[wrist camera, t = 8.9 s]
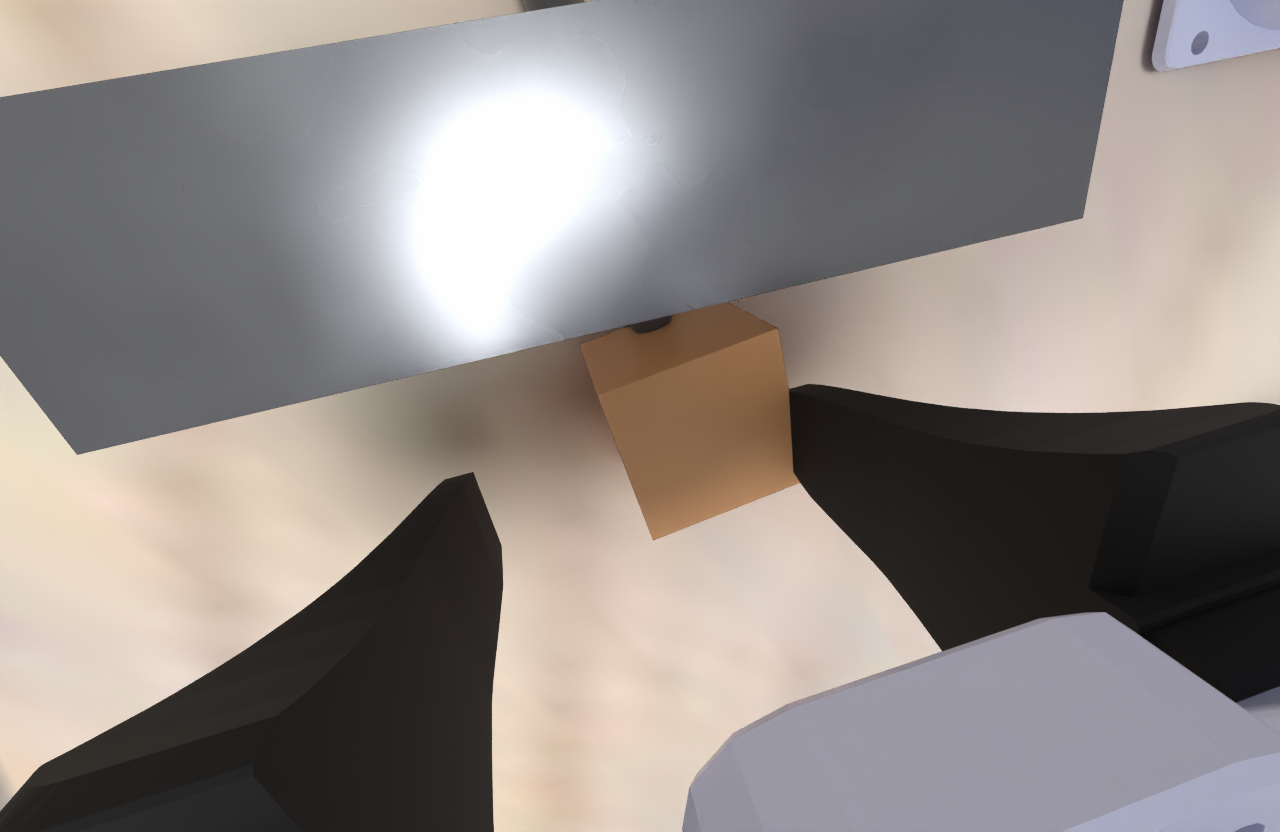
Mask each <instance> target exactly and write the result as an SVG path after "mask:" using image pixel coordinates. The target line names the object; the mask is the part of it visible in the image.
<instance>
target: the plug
mask: <svg viewBox="0 0 1280 832" xmlns="http://www.w3.org/2000/svg"><path fill="white" fill-rule="evenodd" d="M522 2H523V5H524V8H525V11H526V12H528V11H535V10H541V9H547V8H553V7H559V6H565V5H572V4H578V3H584V0H522ZM580 348H581V350H582V353H583V356H584V359H585V362H586V365H587V367H588V370H589V373H590V376H591V379H592V382H593V385H594V387H595V390H596V393H597V396H598V399H599V401H600V404H601V406H602V409H603V412H604V414H605V417H606V419H607V422H608V425H609V427H610V430H611V432H612V435H613V438H614V440H615V443H616V445H617V448H618V451H619V453H620V456H621V458H622V461H623V464H624V466H625V469H626V471H627V474H628V477H629V479H630V482H631V484H632V487H633V490H634V492H635V495H636V497H637V500H638V503H639V505H640V508H641V510H642V513H643V516H644V518H645V521H646V523H647V526H648V529H649V531H650V534H651V536H652V539H653V540H656V539H658V538H661V537H663V536H666V535H668V534H671V533H673V532H676V531H679V530H681V529H684V528H686V527H689V526H691V525H694V524H696V523H699V522H701V521H704V520H706V519H709V518H711V517H714V516H717V515H719V514H722V513H724V512H727V511H729V510H732V509H734V508H737V507H739V506H742V505H744V504H747V503H750V502H752V501H755V500H757V499H760V498H762V497H765V496H767V495H770V494H772V493H775V492H777V491H780V490H782V489H785V488H788V487H790V486H793V485H795V484H798V483H800V481H799V480H798V478H797V477H796V476H795V474H794V473H793V457H792V439H791V421H790V403H789V387H788V382H787V376H786V371H785V366H784V360H783V355H782V350H781V344H780V339H779V333H778V328H776V327H774V326H772V325H770V324H768V323H766V322H764V321H762V320H760V319H758V318H757V317H755V316H753V315H751V314H749V313H747V312H745V311H743V310H741V309H739V308H737V307H735V306H734V305H732V304H730V303H728V302H724V303H720V304H716V305H711V306H707V307H703V308H699V309H694V310H690V311H686V312H682V313H677V314H673V315H669V316H665V317H660V318H656V319H652V320H648V321H643V322H639V323H635V324H631V325H629V327H627V328H624V329H621V330H619V331H616V332H613V333H610V334H608V335H605V336H602V337H599V338H597V339H594V340H591V341H589V342H586V343H583V344H580Z"/></svg>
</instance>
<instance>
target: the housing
mask: <svg viewBox="0 0 1280 832" xmlns="http://www.w3.org/2000/svg"><path fill="white" fill-rule="evenodd" d="M1122 6H1123V0H596V1H590V2H584V3H578V4H572V5H565V6H559V7H553V8H547V9H541V10H535V11H528V12H522V13H516V14H510V15H504V16H498V17H492V18H485V19H479V20H473V21H467V22H461V23H455V24H449V25H442V26H436V27H430V28H424V29H418V30H412V31H405V32H399V33H393V34H387V35H381V36H375V37H369V38H362V39H356V40H350V41H344V42H338V43H332V44H326V45H319V46H313V47H307V48H301V49H295V50H289V51H282V52H276V53H270V54H264V55H258V56H252V57H246V58H239V59H233V60H227V61H221V62H215V63H209V64H203V65H196V66H190V67H184V68H178V69H172V70H166V71H159V72H153V73H147V74H141V75H135V76H129V77H123V78H116V79H110V80H104V81H98V82H92V83H86V84H80V85H73V86H67V87H61V88H55V89H49V90H43V91H36V92H30V93H24V94H18V95H12V96H6V97H0V356H1V357H2V359H3V360H4V361H5V362H6V364H7V365H8V366H9V368H10V369H11V370H12V371H13V373H14V374H15V375H16V377H17V378H18V379H19V380H20V382H21V383H22V384H23V386H24V387H25V388H26V390H27V391H28V392H29V393H30V395H31V396H32V397H33V399H34V400H35V401H36V402H37V404H38V405H39V406H40V408H41V409H42V410H43V411H44V413H45V414H46V415H47V417H48V418H49V419H50V420H51V422H52V423H53V424H54V426H55V427H56V428H57V429H58V431H59V432H60V433H61V435H62V436H63V437H64V439H65V440H66V441H67V442H68V444H69V445H70V446H71V448H72V449H73V450H74V451H75V453H76V454H77V455H78V454H83V453H87V452H91V451H95V450H100V449H104V448H108V447H112V446H117V445H121V444H125V443H129V442H134V441H138V440H142V439H146V438H151V437H155V436H159V435H163V434H168V433H172V432H176V431H180V430H185V429H189V428H193V427H197V426H202V425H206V424H210V423H214V422H219V421H223V420H227V419H231V418H236V417H240V416H244V415H248V414H253V413H257V412H261V411H265V410H270V409H274V408H278V407H282V406H286V405H291V404H295V403H299V402H303V401H308V400H312V399H316V398H320V397H325V396H329V395H333V394H337V393H342V392H346V391H350V390H354V389H359V388H363V387H367V386H371V385H376V384H380V383H384V382H388V381H393V380H397V379H401V378H405V377H410V376H414V375H418V374H422V373H427V372H431V371H435V370H439V369H444V368H448V367H452V366H456V365H461V364H465V363H469V362H473V361H478V360H482V359H486V358H490V357H495V356H499V355H503V354H507V353H512V352H516V351H520V350H524V349H529V348H533V347H537V346H541V345H546V344H550V343H554V342H558V341H563V340H567V339H571V338H575V337H580V336H584V335H588V334H592V333H597V332H601V331H605V330H609V329H614V328H618V327H622V326H626V325H631V324H635V323H639V322H643V321H648V320H652V319H656V318H660V317H665V316H669V315H673V314H677V313H682V312H686V311H690V310H694V309H699V308H703V307H707V306H711V305H716V304H720V303H724V302H728V301H733V300H737V299H741V298H745V297H750V296H754V295H758V294H762V293H767V292H771V291H775V290H779V289H784V288H788V287H792V286H796V285H801V284H805V283H809V282H813V281H818V280H822V279H826V278H830V277H835V276H839V275H843V274H847V273H852V272H856V271H860V270H864V269H869V268H873V267H877V266H881V265H886V264H890V263H894V262H898V261H903V260H907V259H911V258H915V257H920V256H924V255H928V254H932V253H937V252H941V251H945V250H949V249H954V248H958V247H962V246H966V245H971V244H975V243H979V242H983V241H988V240H992V239H996V238H1000V237H1005V236H1009V235H1013V234H1017V233H1022V232H1026V231H1030V230H1034V229H1039V228H1043V227H1047V226H1051V225H1056V224H1060V223H1064V222H1068V221H1073V220H1077V219H1081V218H1083V214H1084V209H1085V203H1086V198H1087V193H1088V187H1089V182H1090V177H1091V171H1092V166H1093V161H1094V155H1095V150H1096V145H1097V139H1098V134H1099V129H1100V123H1101V118H1102V113H1103V107H1104V102H1105V97H1106V91H1107V86H1108V81H1109V75H1110V70H1111V65H1112V59H1113V54H1114V48H1115V43H1116V38H1117V32H1118V27H1119V22H1120V16H1121V11H1122Z"/></svg>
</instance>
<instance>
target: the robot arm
mask: <svg viewBox="0 0 1280 832" xmlns="http://www.w3.org/2000/svg"><path fill="white" fill-rule="evenodd" d="M1278 48H1280V0H1164V1H1163V5H1162V10H1161V15H1160V19H1159V24H1158V29H1157V33H1156V38H1155V43H1154V47H1153V52H1152V63H1153V67H1154V68H1155V69H1156V70H1157V71H1161V72H1165V71H1170V70H1174V69H1179V68H1184V67H1189V66H1194V65H1199V64H1204V63H1209V62H1214V61H1219V60H1224V59H1229V58H1233V57H1238V56H1243V55H1248V54H1253V53H1258V52H1263V51H1268V50H1273V49H1278ZM789 403H790V421H791V439H792V457H793V473H794V474H795V476H796V477H797V478H798V480H799V481H800V483H801V484H802V486H803V487H804V488H805V490H806V491H807V492H808V494H809V495H810V496H811V498H812V499H813V500H814V501H815V502H816V503H817V504H818V505H819V506H820V507H821V508H822V509H823V510H824V511H825V513H826V514H827V515H828V516H829V517H830V518H831V519H832V520H833V521H834V522H835V523H836V524H837V525H838V526H839V527H840V528H841V529H842V530H843V531H844V532H845V533H846V534H847V535H848V536H849V538H850V539H851V540H852V541H853V542H854V543H855V544H856V545H857V546H858V547H859V548H860V549H861V550H862V551H863V552H864V553H865V554H866V555H867V556H868V557H869V558H870V559H871V560H872V561H873V562H874V564H875V565H876V566H877V567H878V568H879V569H880V570H881V571H882V573H883V574H884V575H885V576H886V577H887V578H888V580H889V581H890V582H891V583H892V585H893V586H894V587H895V589H896V590H897V591H898V592H899V594H900V595H901V596H902V598H903V599H904V600H905V601H906V603H907V604H908V605H909V607H910V608H911V609H912V611H913V612H914V613H915V614H916V616H917V617H918V618H919V620H920V621H921V623H922V624H923V625H924V627H925V628H926V629H927V631H928V632H929V634H930V635H931V636H932V638H933V639H934V640H935V642H936V643H937V645H938V646H939V647H940V649H941V650H942V652H939V653H936V654H933V655H930V656H928V657H925V658H922V659H919V660H916V661H913V662H910V663H907V664H904V665H901V666H898V667H895V668H892V669H889V670H886V671H883V672H881V673H878V674H875V675H872V676H869V677H866V678H863V679H860V680H857V681H854V682H851V683H848V684H845V685H842V686H839V687H836V688H833V689H831V690H828V691H825V692H822V693H819V694H816V695H813V696H810V697H807V698H804V699H801V700H798V701H795V702H792V703H789V704H787V705H785V706H783V707H781V708H779V709H777V710H776V711H774V712H772V713H770V714H768V715H766V716H764V717H762V718H761V719H759V720H757V721H755V722H753V723H751V724H749V725H747V726H746V727H744V728H742V729H740V730H738V731H736V732H734V733H733V734H732V735H731V736H730V737H729V738H728V739H727V740H726V742H725V743H724V744H723V745H722V746H721V747H720V748H719V749H718V751H717V752H716V753H715V754H714V755H713V756H712V757H711V758H710V760H709V761H708V762H707V763H706V764H705V765H704V766H703V767H702V769H701V770H700V771H699V772H698V773H697V775H696V776H695V778H694V780H693V782H692V783H691V785H690V787H689V793H688V798H687V804H686V810H685V816H684V821H683V827H682V831H683V832H1280V405H1275V404H1269V403H1256V402H1247V403H1235V404H1224V405H1213V406H1201V407H1190V408H1178V409H1167V410H1153V411H1131V412H1107V413H1032V412H1007V411H993V410H981V409H968V408H958V407H950V406H942V405H935V404H928V403H921V402H914V401H909V400H903V399H897V398H891V397H886V396H881V395H875V394H870V393H865V392H860V391H854V390H849V389H844V388H838V387H832V386H825V385H816V384H807V385H803V386H799V387H795V388H791V389H789ZM502 592H503V565H502V546H501V543H500V541H499V538H498V536H497V533H496V530H495V528H494V525H493V523H492V520H491V517H490V515H489V512H488V510H487V507H486V504H485V502H484V499H483V496H482V494H481V491H480V489H479V486H478V483H477V481H476V478H475V476H474V473H473V472H472V473H468V474H464V475H460V476H456V477H453V478H449V479H445V480H444V481H442V482H441V483H440V484H439V485H438V486H437V487H436V488H435V489H434V490H433V491H432V492H431V493H430V494H429V495H428V496H427V497H426V498H425V499H424V500H423V501H422V502H421V503H420V504H419V505H418V506H417V507H416V508H415V509H414V510H413V511H412V512H411V513H410V514H409V515H408V516H407V517H406V518H405V519H404V520H403V522H402V523H401V524H400V525H399V526H398V527H397V528H396V529H395V530H394V531H393V532H392V533H391V534H390V535H389V536H388V537H387V538H386V539H384V540H383V541H382V542H381V543H380V544H379V545H378V546H377V547H376V548H375V549H374V550H373V551H372V552H371V553H370V554H369V555H368V556H367V557H365V558H364V559H363V560H362V561H361V562H360V563H359V564H358V565H357V566H356V567H355V568H354V569H352V570H351V571H350V572H349V573H348V574H347V575H346V576H344V577H343V578H342V579H341V580H340V581H338V582H337V583H336V584H335V585H334V586H332V587H331V588H330V589H329V590H327V591H326V592H325V593H324V594H322V595H321V596H320V597H318V598H317V599H316V600H315V601H313V602H312V603H311V604H310V605H308V606H307V607H306V608H304V609H303V610H302V611H300V612H299V613H297V614H296V615H295V616H293V617H292V618H290V619H289V620H287V621H286V622H285V623H283V624H282V625H280V626H279V627H277V628H276V629H275V630H273V631H272V632H270V633H269V634H267V635H266V636H265V637H263V638H262V639H260V640H259V641H257V642H256V643H255V644H253V645H252V646H250V647H249V648H247V649H246V650H244V651H243V652H241V653H240V654H238V655H236V656H235V657H233V658H232V659H230V660H229V661H227V662H225V663H224V664H222V665H221V666H219V667H217V668H216V669H214V670H213V671H211V672H210V673H208V674H206V675H205V676H203V677H201V678H199V679H198V680H196V681H194V682H193V683H191V684H189V685H188V686H186V687H184V688H183V689H181V690H179V691H178V692H176V693H174V694H173V695H171V696H169V697H167V698H166V699H164V700H162V701H160V702H159V703H157V704H155V705H153V706H152V707H150V708H148V709H146V710H145V711H143V712H141V713H139V714H137V715H135V716H133V717H131V718H130V719H128V720H126V721H124V722H122V723H120V724H118V725H117V726H115V727H113V728H111V729H109V730H107V731H105V732H104V733H102V734H100V735H98V736H96V737H94V738H92V739H91V740H89V741H87V742H85V743H83V744H81V745H79V746H78V747H76V748H74V749H72V750H70V751H68V752H66V753H64V754H62V755H60V756H58V757H57V758H55V759H53V760H51V761H49V762H47V763H45V764H43V765H42V766H40V767H39V768H38V769H37V770H36V771H35V772H34V773H33V774H32V775H31V777H30V778H29V779H28V780H27V781H26V783H25V784H24V785H23V786H22V787H21V788H20V789H19V791H18V792H17V793H16V794H15V795H14V796H13V797H12V799H11V800H10V801H9V802H8V803H7V804H6V805H5V807H4V808H3V809H2V810H1V811H0V832H494V825H493V788H492V692H493V678H494V668H495V659H496V650H497V641H498V631H499V622H500V612H501V602H502Z"/></svg>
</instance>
